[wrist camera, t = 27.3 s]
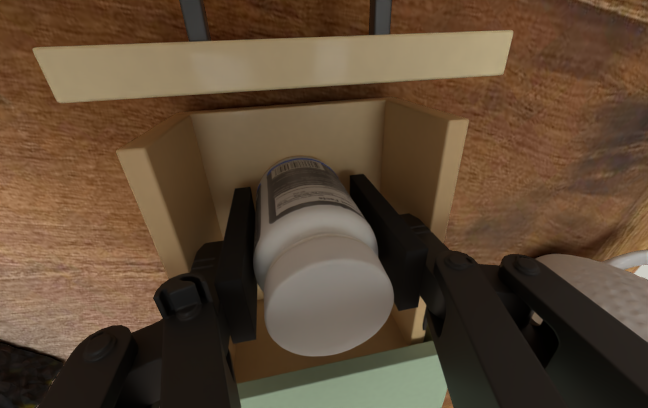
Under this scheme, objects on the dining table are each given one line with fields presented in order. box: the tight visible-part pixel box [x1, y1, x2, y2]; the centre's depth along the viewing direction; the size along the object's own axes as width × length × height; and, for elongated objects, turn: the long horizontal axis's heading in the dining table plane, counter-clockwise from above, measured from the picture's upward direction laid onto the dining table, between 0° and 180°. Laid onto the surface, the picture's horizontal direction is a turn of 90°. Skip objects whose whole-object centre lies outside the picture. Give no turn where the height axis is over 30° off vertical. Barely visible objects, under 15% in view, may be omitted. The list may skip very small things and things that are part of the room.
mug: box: [532, 250, 648, 342], centre depth 21 cm, size 15×11×13 cm
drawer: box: [33, 0, 513, 384], centre depth 12 cm, size 21×12×7 cm, turn 2°
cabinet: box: [237, 323, 448, 408], centre depth 20 cm, size 17×14×9 cm
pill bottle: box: [253, 156, 394, 356], centre depth 12 cm, size 5×5×8 cm
